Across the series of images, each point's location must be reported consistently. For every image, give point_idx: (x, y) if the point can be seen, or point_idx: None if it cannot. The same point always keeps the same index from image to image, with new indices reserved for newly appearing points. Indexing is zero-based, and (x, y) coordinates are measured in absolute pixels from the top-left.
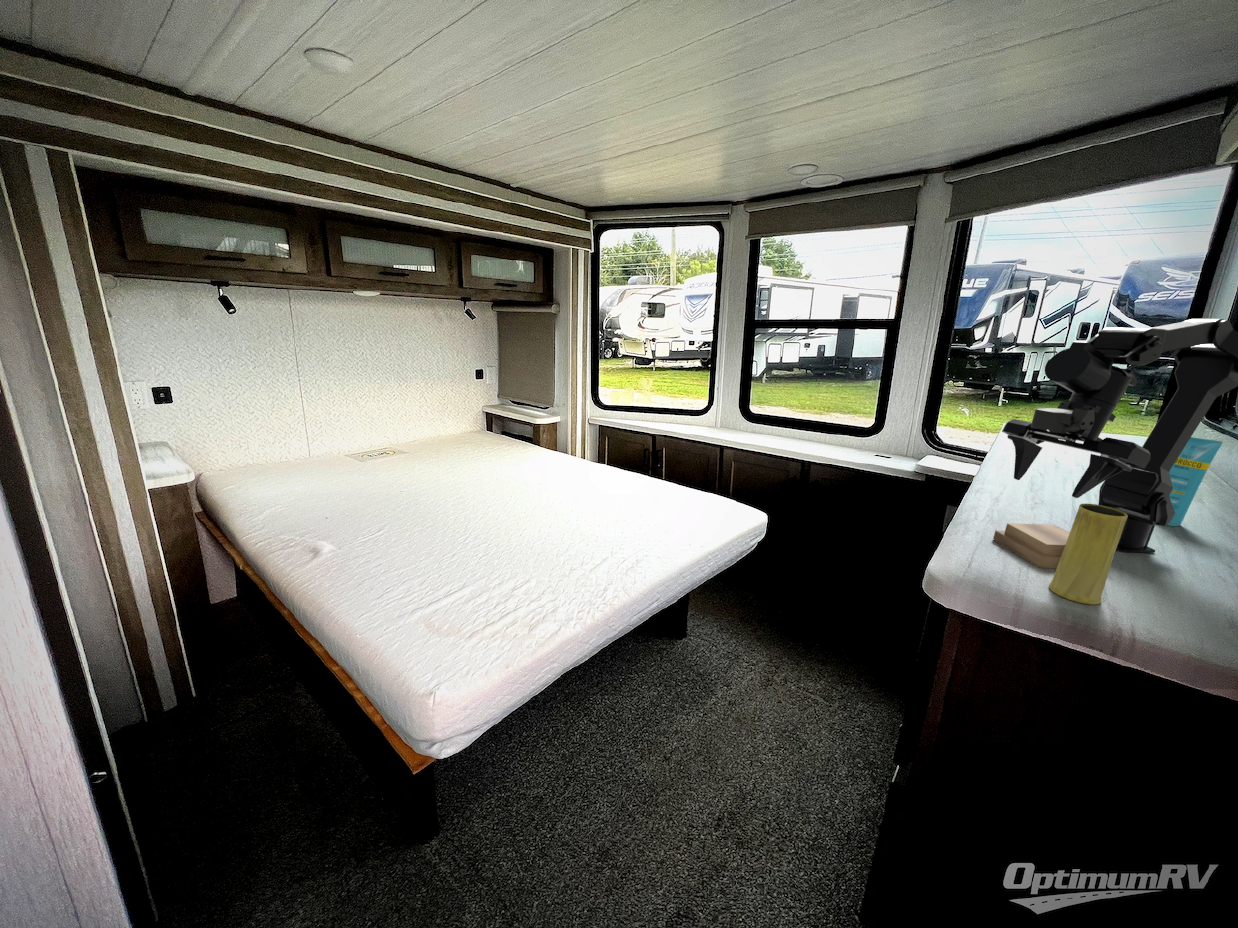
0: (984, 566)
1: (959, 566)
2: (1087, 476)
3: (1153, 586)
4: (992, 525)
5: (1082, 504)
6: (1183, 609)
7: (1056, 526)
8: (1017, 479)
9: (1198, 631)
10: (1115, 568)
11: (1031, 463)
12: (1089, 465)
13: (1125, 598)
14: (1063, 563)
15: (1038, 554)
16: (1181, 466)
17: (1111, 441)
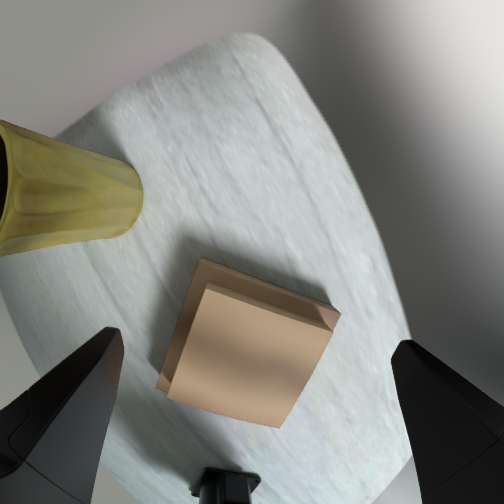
0: (247, 136)
1: (265, 86)
2: (32, 402)
3: None
4: (370, 376)
5: (9, 174)
6: (45, 329)
7: (272, 424)
8: (396, 350)
9: (9, 267)
10: (161, 402)
11: (415, 456)
12: (12, 467)
13: (77, 282)
14: (98, 156)
15: (212, 270)
16: None
17: None
